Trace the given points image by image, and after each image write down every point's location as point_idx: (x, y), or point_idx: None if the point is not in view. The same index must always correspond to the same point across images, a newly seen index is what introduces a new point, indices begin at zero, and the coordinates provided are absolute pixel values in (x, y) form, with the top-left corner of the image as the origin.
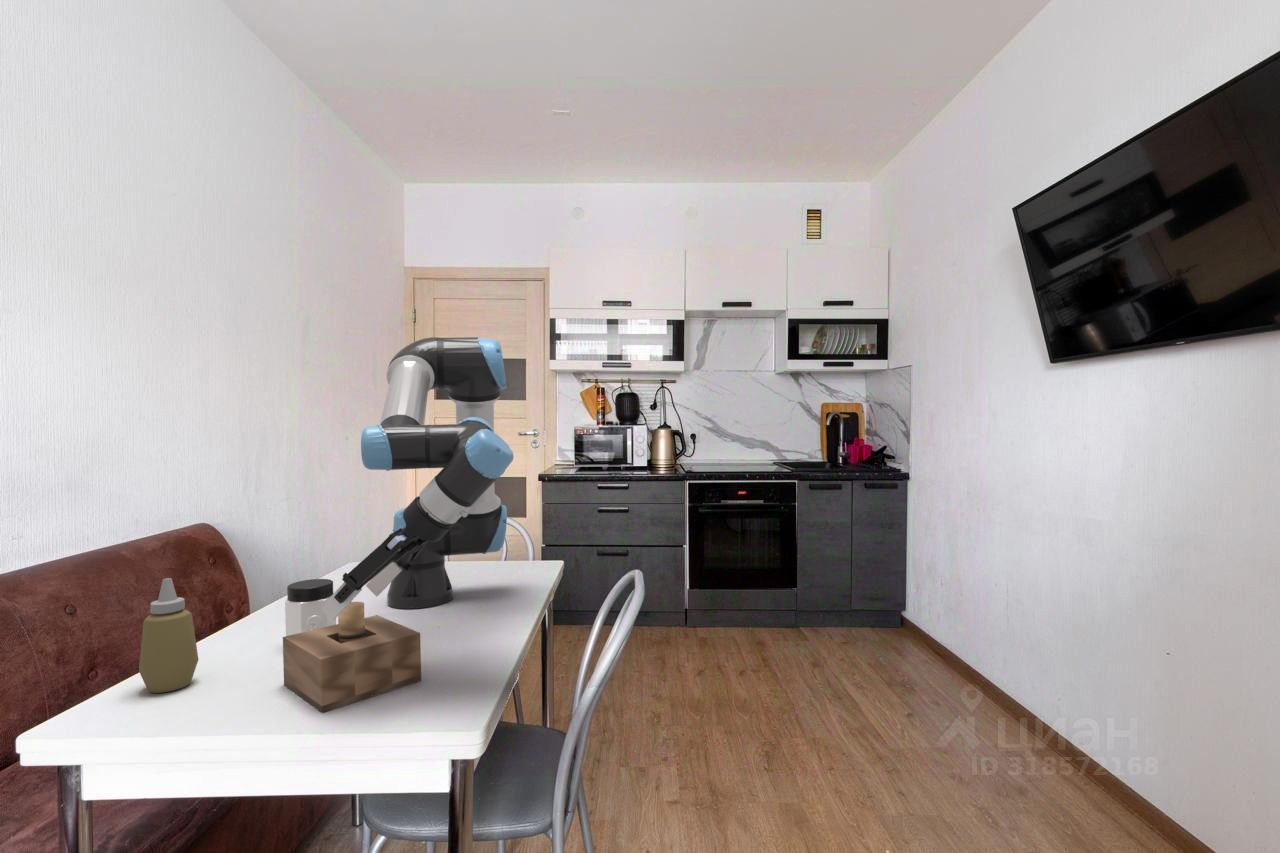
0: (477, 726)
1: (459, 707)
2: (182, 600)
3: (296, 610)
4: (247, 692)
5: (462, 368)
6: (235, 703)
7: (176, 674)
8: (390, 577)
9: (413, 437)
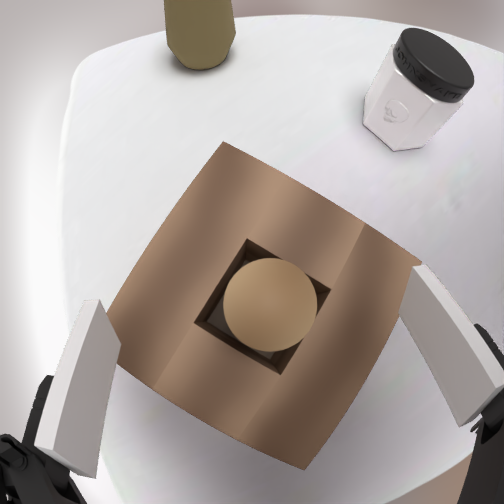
0: None
1: None
2: None
3: (387, 72)
4: (192, 153)
5: None
6: (152, 168)
7: (182, 56)
8: (441, 377)
9: None
